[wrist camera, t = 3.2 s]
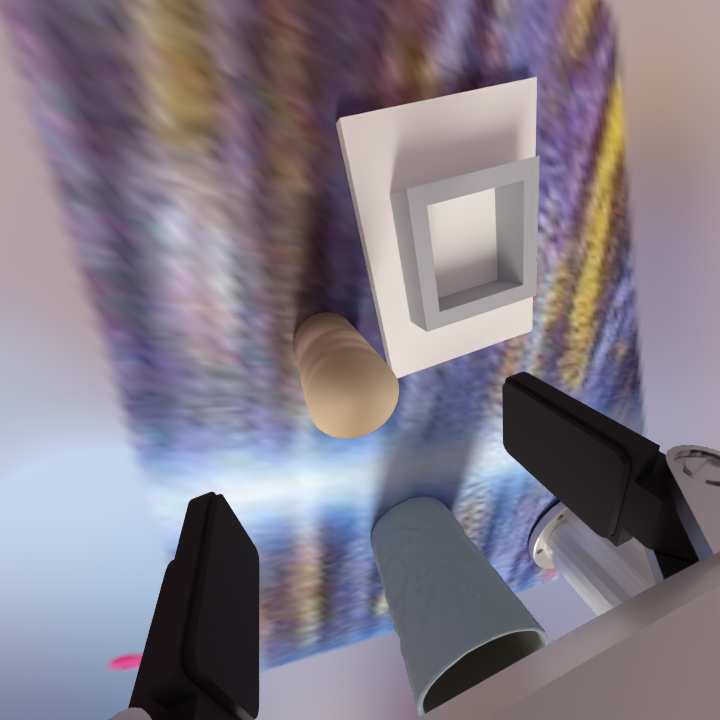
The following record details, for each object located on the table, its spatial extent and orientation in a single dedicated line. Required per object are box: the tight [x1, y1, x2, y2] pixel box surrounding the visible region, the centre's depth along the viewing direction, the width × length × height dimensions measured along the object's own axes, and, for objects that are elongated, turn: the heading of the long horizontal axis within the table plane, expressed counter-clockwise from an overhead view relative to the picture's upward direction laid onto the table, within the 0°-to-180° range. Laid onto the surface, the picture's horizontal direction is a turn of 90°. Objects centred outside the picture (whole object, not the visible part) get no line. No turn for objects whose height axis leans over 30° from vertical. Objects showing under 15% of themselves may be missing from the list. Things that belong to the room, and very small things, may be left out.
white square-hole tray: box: [336, 77, 540, 378], centre depth 20 cm, size 12×16×4 cm
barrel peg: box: [294, 312, 399, 438], centre depth 18 cm, size 4×4×8 cm
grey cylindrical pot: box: [371, 496, 547, 717], centre depth 26 cm, size 10×10×12 cm
